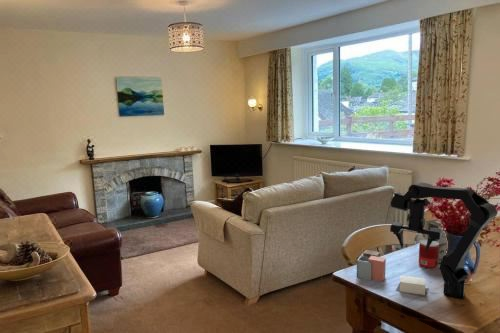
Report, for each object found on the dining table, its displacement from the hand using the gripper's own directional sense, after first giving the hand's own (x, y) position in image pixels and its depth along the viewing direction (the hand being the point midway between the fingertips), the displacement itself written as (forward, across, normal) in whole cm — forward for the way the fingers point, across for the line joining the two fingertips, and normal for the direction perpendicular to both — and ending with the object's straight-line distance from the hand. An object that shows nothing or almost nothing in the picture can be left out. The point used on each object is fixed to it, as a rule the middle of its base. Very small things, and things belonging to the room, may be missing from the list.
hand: (414, 250), depth 165 cm
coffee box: (+14, -5, -32) cm, 35 cm away
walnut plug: (+14, +17, +1) cm, 22 cm away
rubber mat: (+13, -2, +10) cm, 17 cm away
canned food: (+14, -4, -18) cm, 23 cm away
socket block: (+14, +18, +3) cm, 22 cm away
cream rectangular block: (+12, -2, +10) cm, 16 cm away
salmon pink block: (+14, +13, +6) cm, 20 cm away
